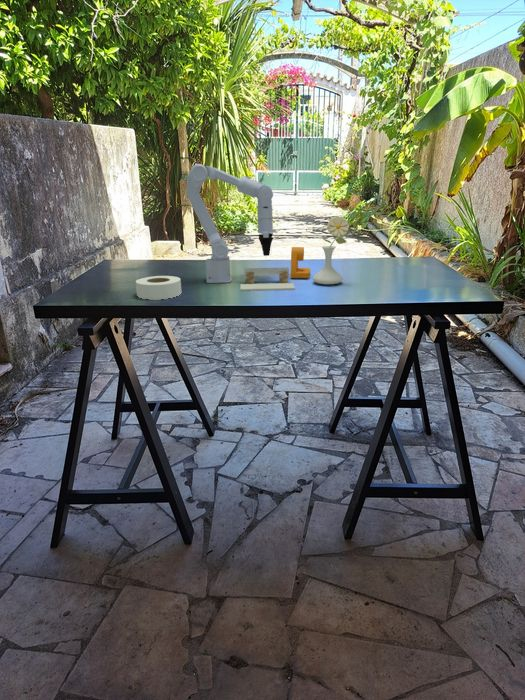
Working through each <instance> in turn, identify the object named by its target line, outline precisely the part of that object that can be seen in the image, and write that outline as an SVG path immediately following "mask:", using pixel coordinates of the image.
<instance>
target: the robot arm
mask: <svg viewBox="0 0 525 700" xmlns="http://www.w3.org/2000/svg"><path fill="white" fill-rule="evenodd" d="M207 179H208V180H209V181H210V180H218V181H220V182H225V183H226V184H229V185H231V186H234V187H236V189H237V191H238V192H239V193H242V194H244V195H246V196H249V197H252V198H253V199H255V198H256V199H257V212H256V213H257V233H258V241H259V243H260V245H261V249H262V254H263V256H265V257H268V256H270V252H271V248H272V246H271V245H272V242H273V241H274V237H273V233H275V232H277V230H276V228H275V229H274V226H273V225H274V224H273V223H274V222H273V205H272V203H273V200H272V199H273V198H274V192H273V190H272V188H271V187H270V186H268V185H265V184H263V182H262V181H259V182H258V181H256V180H254V179H252V178H251V176H248V175H247V176H242V177H236V176H234V175H232V174H230V173H227V172H225V171H223V170H221V169H219V168H217V167H212V166H209V165H204V164H201V163H196V164H193V166H191V168H190V170H189V171H188V174H187V182H186V192H185V194H186V196H187V199H188V200H189V203H190V204H191V207H192V209H193V211H194V212H195V214H196V216H197V218H198V221H199V223H200V225H201V227H202V228H203V231H204V232H205V235H206V237H207V239H208V242H209V244H210V246H211V253H212V256H210V258H206V259H205V278H206V283H207V284H210V283H211V284H215V283H216V284H218V283H220V284H223V283H228V284H229V283H232V280H233V279H232V278H233V277H231V266H230V261H231V260H230V256H228V255H229V247H228V244H227V242H226V241H225V240H223V239H222V237H221V235H220V233H219V231H218V229H217V227H216V225H215V222H214V221H213V219H212V217H211V215H210V213H209V211H208V209H207V206H206V204H205V202H204V200H203V198H202V196H201V194H200V193H201V189H202V187H203V184H204V183H205V181H206V180H207Z"/></svg>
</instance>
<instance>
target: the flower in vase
mask: <svg viewBox="0 0 525 700" xmlns="http://www.w3.org/2000/svg"><path fill="white" fill-rule="evenodd" d="M349 228H350V224H349V222H348V220H347V219H346V218H345V217H343V216H339V215H336V216H334V217H332V218H330V219H329V220H328V223H327V225H326V229H327V232H329V235H331V236H333V237H334V239H333V241H332V242H331V241H330V240H328V239H325V238H324V237H322V240H323V241H325V242H327V243H329V244H330V245H324V246H321V248H322V249H323V251H324V255H325V256H324V257H325V262H324V263H325V264H324V266H323V267H322V268H321V270H319V271H318V272H317V273H315V275H314V276H313V277H312V280H313V282H314V283H316V284H320V285H335V284H339V283H342V281H343V280H344V278H343V276H342V275H341V274H340V272H338V271H337V270H336V269H335V268H334V267H333V266H332V256H333V253H334V250H335V249H336V246H333V244H334V242H336V243H337V244H338V245H342V244H345V243H347V240H346V239H345V238H344V237H342V236H345V235H346V234H348V231H349Z"/></svg>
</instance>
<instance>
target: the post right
mask: <svg viewBox="0 0 525 700" xmlns="http://www.w3.org/2000/svg"><path fill="white" fill-rule="evenodd" d="M278 277H279V279H278V282H279V283H289V280H288V278H289V275H288V272H280V275H278Z"/></svg>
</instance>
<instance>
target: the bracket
mask: <svg viewBox="0 0 525 700" xmlns="http://www.w3.org/2000/svg"><path fill="white" fill-rule="evenodd" d="M290 251H291V253H290V278H291V279H310V277H309V276H311V268H310V267H299V261H300V262H304V260H305V247H304V246H292V247H291V250H290Z"/></svg>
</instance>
